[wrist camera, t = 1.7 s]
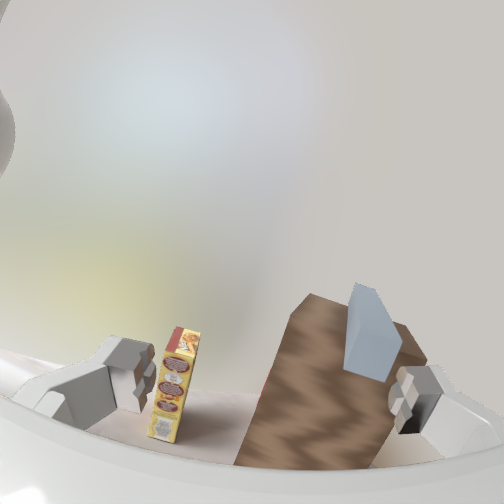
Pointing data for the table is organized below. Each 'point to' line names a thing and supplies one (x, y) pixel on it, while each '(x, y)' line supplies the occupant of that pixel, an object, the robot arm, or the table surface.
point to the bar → (370, 335)
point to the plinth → (321, 398)
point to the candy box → (173, 383)
